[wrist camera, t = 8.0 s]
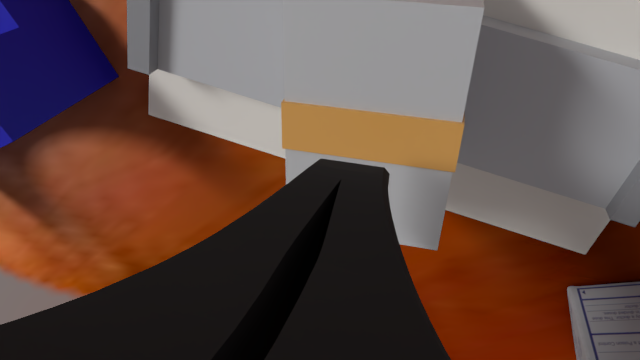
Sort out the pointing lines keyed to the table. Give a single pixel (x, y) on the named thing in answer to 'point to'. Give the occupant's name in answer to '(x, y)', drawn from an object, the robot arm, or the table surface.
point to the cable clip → (44, 64)
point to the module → (382, 96)
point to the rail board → (480, 110)
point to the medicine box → (606, 321)
